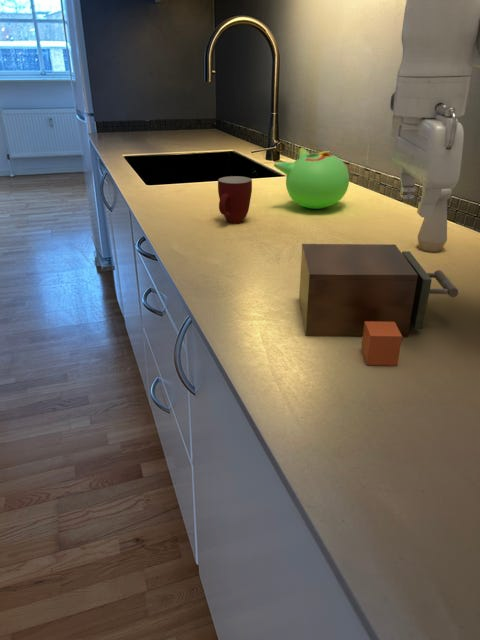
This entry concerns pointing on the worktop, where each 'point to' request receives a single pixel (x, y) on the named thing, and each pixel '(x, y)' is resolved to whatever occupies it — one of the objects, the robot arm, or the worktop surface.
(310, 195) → the toy bird
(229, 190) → the mug
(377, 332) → the block
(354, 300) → the cabinet
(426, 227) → the salt shaker
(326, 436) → the worktop surface
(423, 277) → the drawer
